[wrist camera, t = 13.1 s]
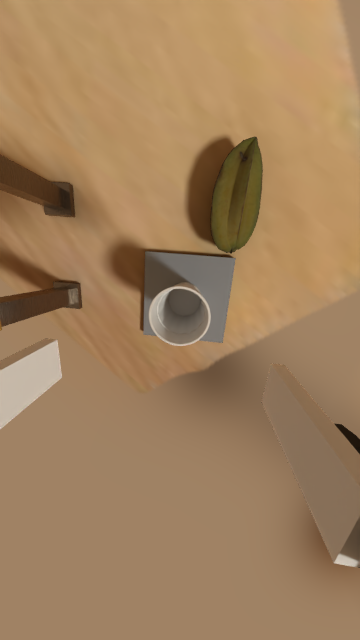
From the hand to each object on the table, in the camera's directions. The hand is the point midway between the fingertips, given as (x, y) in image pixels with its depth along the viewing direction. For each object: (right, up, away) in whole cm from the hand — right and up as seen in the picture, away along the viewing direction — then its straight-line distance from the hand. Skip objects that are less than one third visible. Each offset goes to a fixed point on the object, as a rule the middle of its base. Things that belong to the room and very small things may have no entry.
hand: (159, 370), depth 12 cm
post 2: (-21, +8, +27) cm, 36 cm away
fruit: (+10, +22, +20) cm, 32 cm away
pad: (+2, +7, +25) cm, 26 cm away
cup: (+2, +7, +24) cm, 25 cm away
